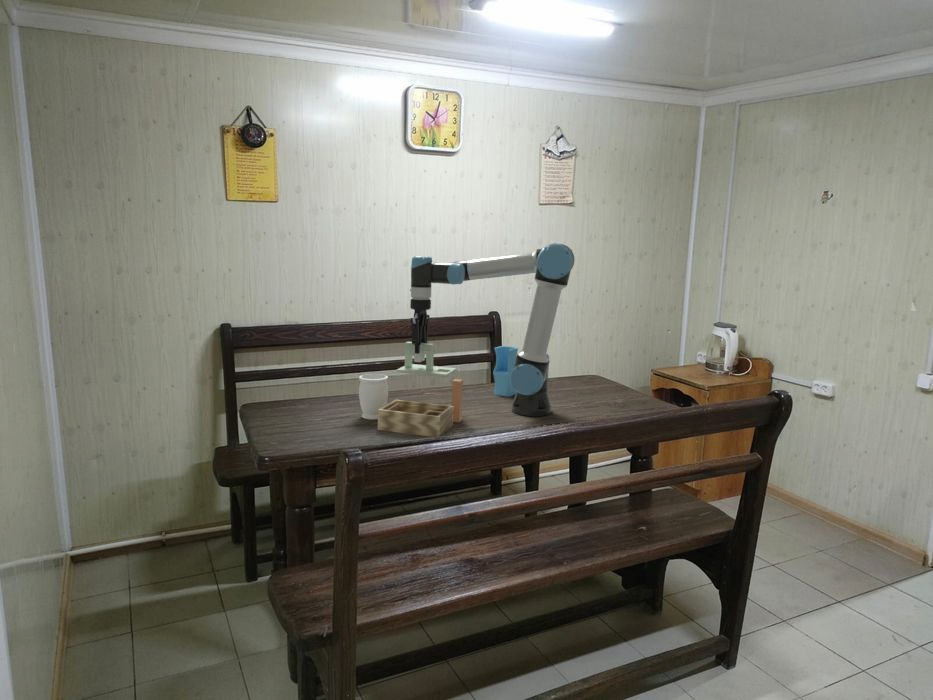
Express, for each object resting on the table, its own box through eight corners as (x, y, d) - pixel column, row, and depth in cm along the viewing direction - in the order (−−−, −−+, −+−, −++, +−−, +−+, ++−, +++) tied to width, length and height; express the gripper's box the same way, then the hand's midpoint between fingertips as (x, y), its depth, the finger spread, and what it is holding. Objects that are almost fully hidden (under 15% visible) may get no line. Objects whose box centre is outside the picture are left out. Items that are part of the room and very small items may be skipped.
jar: (374, 422, 222) (375, 381, 219) (352, 417, 227) (352, 377, 224) (393, 416, 231) (394, 376, 228) (372, 411, 236) (372, 372, 233)
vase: (492, 393, 268) (494, 347, 265) (501, 390, 275) (503, 345, 271) (508, 397, 264) (510, 350, 261) (517, 393, 270) (519, 347, 267)
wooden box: (453, 425, 222) (453, 405, 220) (438, 437, 208) (439, 417, 206) (395, 418, 228) (395, 399, 227) (377, 429, 214) (377, 409, 213)
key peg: (461, 420, 228) (463, 379, 225) (459, 422, 225) (460, 381, 223) (453, 419, 229) (455, 379, 226) (451, 421, 226) (452, 380, 224)
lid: (456, 370, 239) (457, 343, 237) (446, 377, 227) (446, 348, 226) (409, 366, 245) (409, 339, 243) (396, 372, 233) (397, 344, 231)
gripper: (419, 296, 241) (417, 356, 245) (403, 299, 226) (401, 363, 230) (437, 297, 238) (435, 358, 243) (422, 300, 224) (421, 365, 228)
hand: (419, 360), depth 236 cm, fingers closed on lid, 2 cm apart
